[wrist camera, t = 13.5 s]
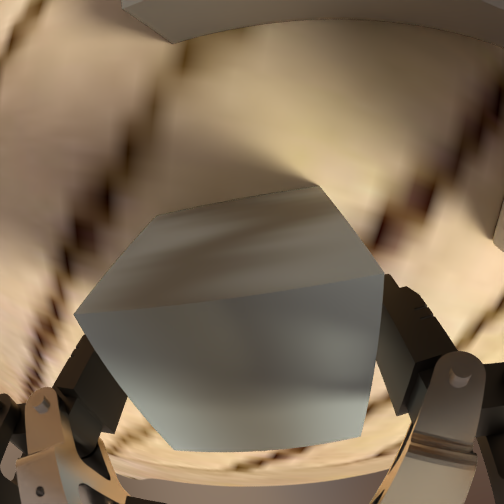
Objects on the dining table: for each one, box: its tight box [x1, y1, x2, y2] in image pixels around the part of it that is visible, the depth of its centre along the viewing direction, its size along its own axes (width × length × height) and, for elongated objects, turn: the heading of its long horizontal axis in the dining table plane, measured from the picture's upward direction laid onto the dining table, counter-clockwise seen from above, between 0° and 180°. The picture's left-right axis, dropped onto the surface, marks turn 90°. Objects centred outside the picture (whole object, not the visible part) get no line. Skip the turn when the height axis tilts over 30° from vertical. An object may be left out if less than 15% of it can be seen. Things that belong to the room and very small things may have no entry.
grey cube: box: [74, 186, 384, 452], centre depth 9 cm, size 6×6×6 cm
